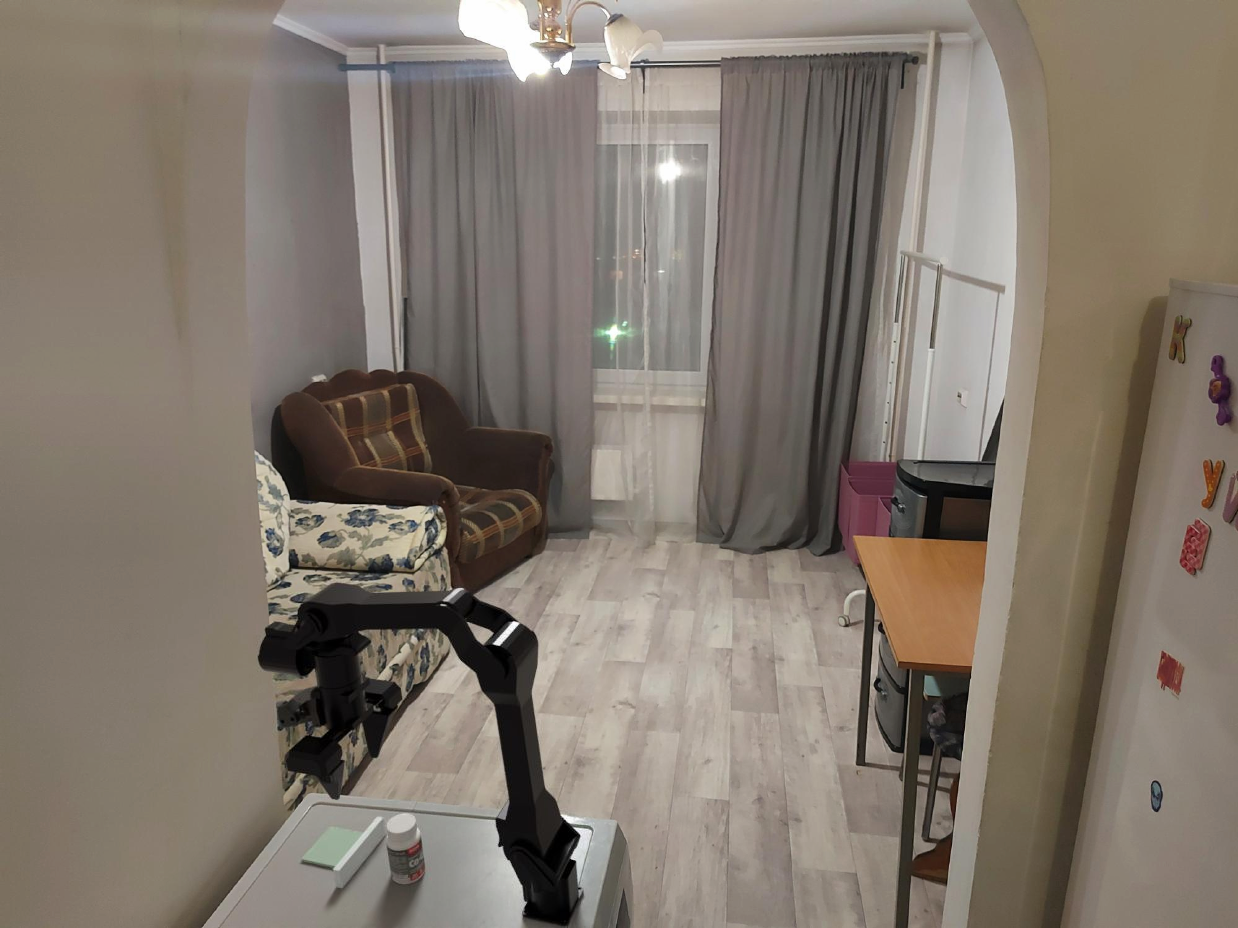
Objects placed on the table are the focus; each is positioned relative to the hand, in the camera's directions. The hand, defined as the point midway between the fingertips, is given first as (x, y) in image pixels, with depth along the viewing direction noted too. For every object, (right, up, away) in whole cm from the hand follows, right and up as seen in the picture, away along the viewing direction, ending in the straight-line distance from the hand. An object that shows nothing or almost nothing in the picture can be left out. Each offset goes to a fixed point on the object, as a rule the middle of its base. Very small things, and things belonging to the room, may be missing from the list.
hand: (355, 777), depth 118 cm
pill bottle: (+7, -14, +2) cm, 16 cm away
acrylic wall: (-1, -14, +5) cm, 15 cm away
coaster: (-5, -13, +8) cm, 16 cm away
